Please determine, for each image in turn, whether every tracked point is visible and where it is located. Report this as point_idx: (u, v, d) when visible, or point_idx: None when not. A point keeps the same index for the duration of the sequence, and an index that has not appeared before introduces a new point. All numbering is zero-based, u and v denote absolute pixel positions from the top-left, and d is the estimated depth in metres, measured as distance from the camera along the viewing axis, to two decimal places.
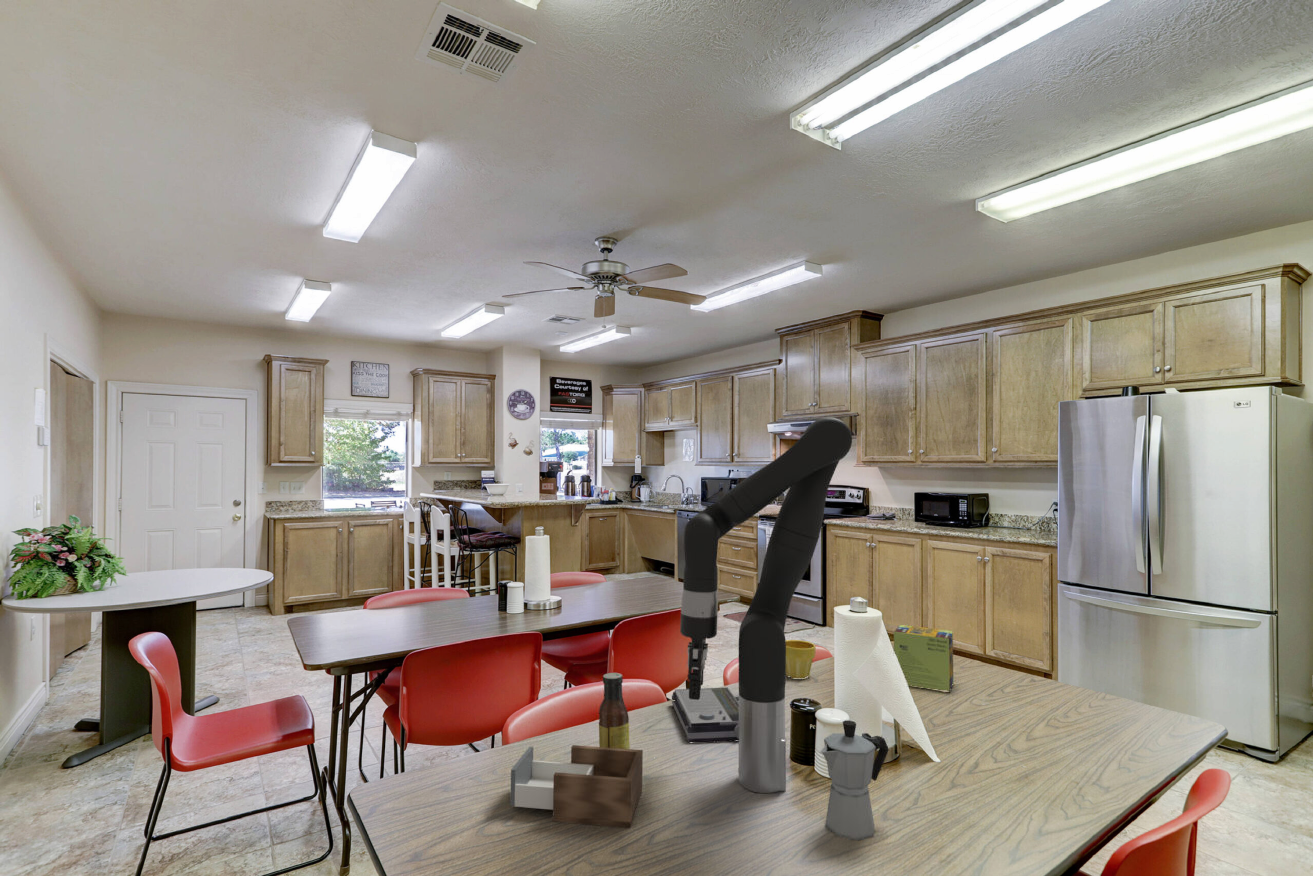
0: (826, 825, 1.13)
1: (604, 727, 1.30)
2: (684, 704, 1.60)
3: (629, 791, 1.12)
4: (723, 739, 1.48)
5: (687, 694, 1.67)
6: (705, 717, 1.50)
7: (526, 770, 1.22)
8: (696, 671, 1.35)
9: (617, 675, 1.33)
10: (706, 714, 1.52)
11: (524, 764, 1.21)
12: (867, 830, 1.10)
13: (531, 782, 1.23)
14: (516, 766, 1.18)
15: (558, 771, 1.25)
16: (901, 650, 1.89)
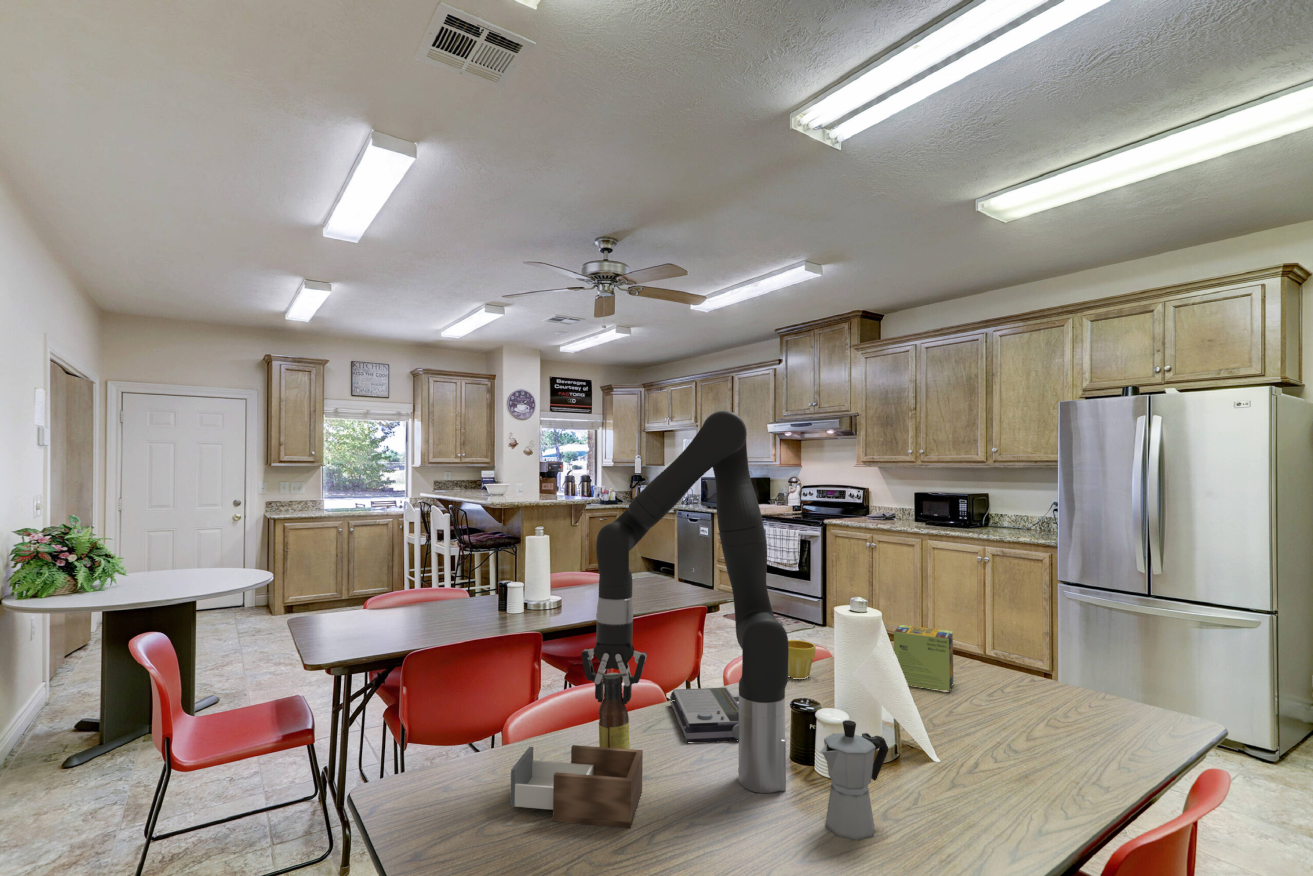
0: (826, 825, 1.13)
1: (604, 727, 1.30)
2: (682, 704, 1.60)
3: (629, 791, 1.12)
4: (721, 739, 1.48)
5: (685, 694, 1.67)
6: (703, 717, 1.50)
7: (526, 770, 1.22)
8: (602, 687, 1.33)
9: (617, 675, 1.33)
10: (704, 714, 1.51)
11: (524, 764, 1.21)
12: (867, 829, 1.10)
13: (531, 782, 1.23)
14: (516, 766, 1.18)
15: (558, 771, 1.25)
16: (901, 650, 1.89)
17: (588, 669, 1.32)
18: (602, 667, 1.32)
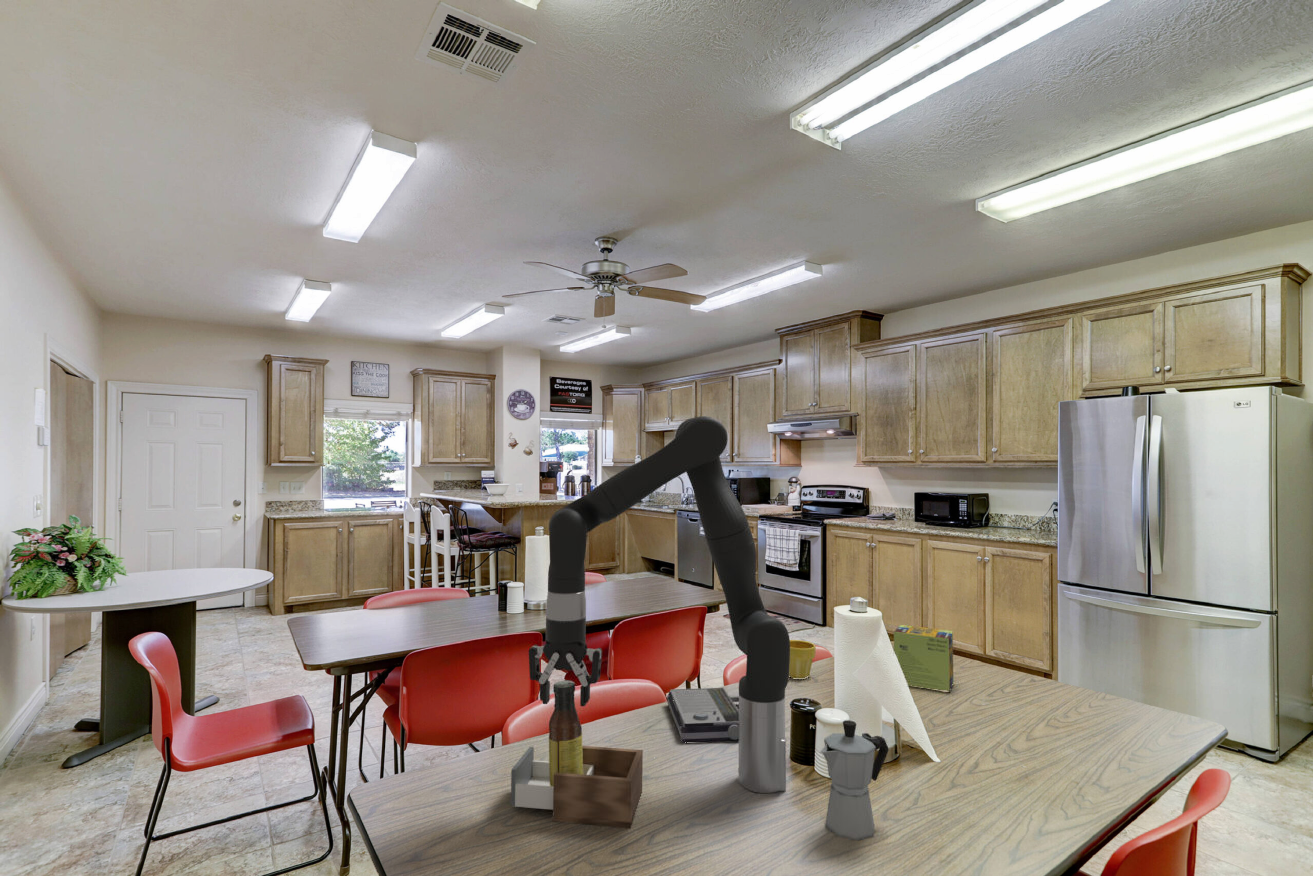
0: (826, 825, 1.13)
1: (553, 740, 1.18)
2: (679, 704, 1.60)
3: (629, 791, 1.12)
4: (717, 739, 1.48)
5: (682, 694, 1.67)
6: (699, 717, 1.50)
7: (526, 770, 1.22)
8: (547, 688, 1.21)
9: (569, 683, 1.21)
10: (700, 714, 1.51)
11: (524, 764, 1.21)
12: (867, 829, 1.10)
13: (531, 782, 1.23)
14: (516, 766, 1.18)
15: None
16: (901, 650, 1.89)
17: (533, 668, 1.21)
18: (550, 667, 1.20)
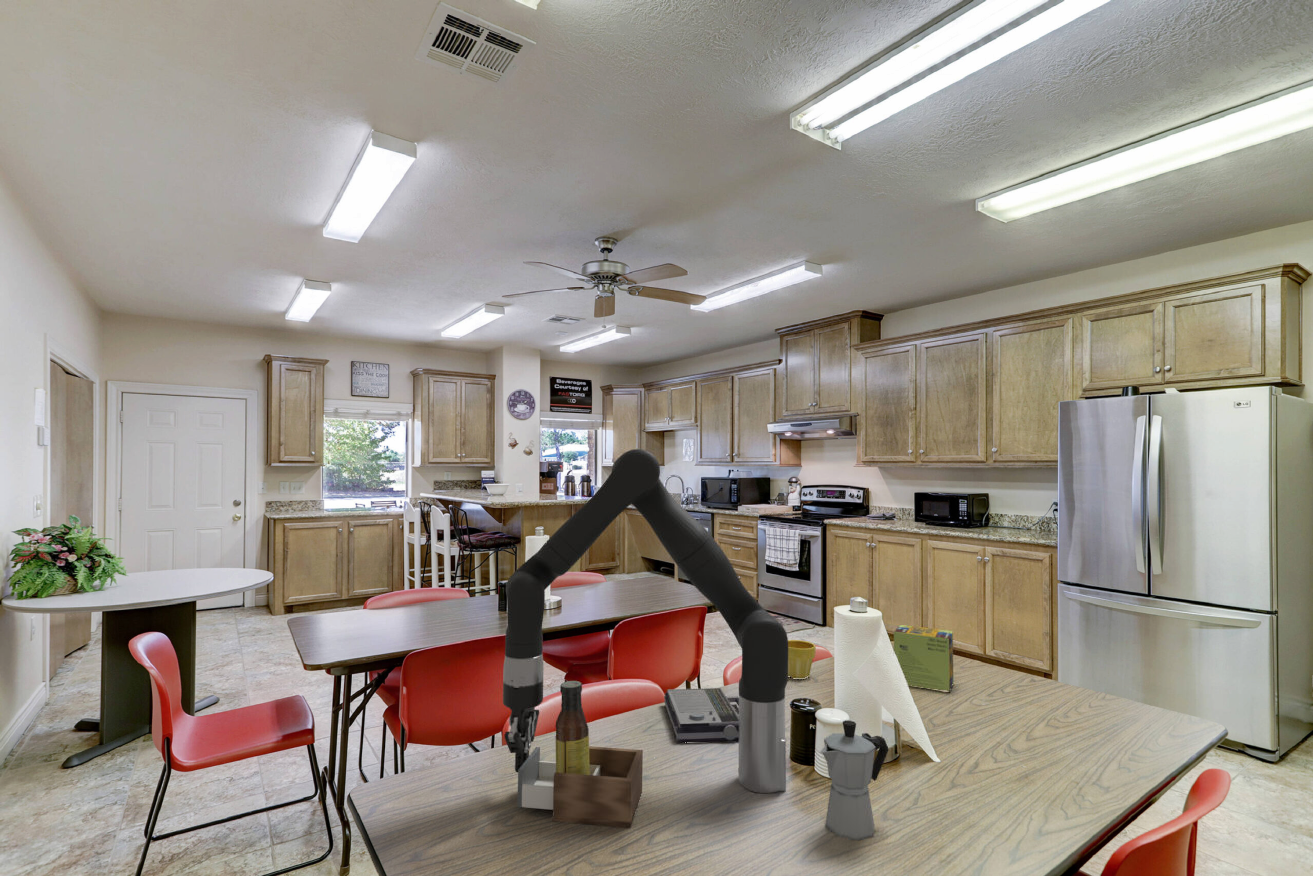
0: (826, 825, 1.13)
1: (560, 741, 1.18)
2: (675, 704, 1.60)
3: (629, 791, 1.12)
4: (712, 740, 1.48)
5: (679, 694, 1.67)
6: (695, 718, 1.50)
7: (532, 770, 1.22)
8: None
9: (576, 683, 1.21)
10: (696, 715, 1.51)
11: (531, 765, 1.21)
12: (867, 829, 1.10)
13: (538, 783, 1.23)
14: (523, 767, 1.18)
15: None
16: (901, 650, 1.89)
17: (522, 744, 1.18)
18: (529, 732, 1.21)
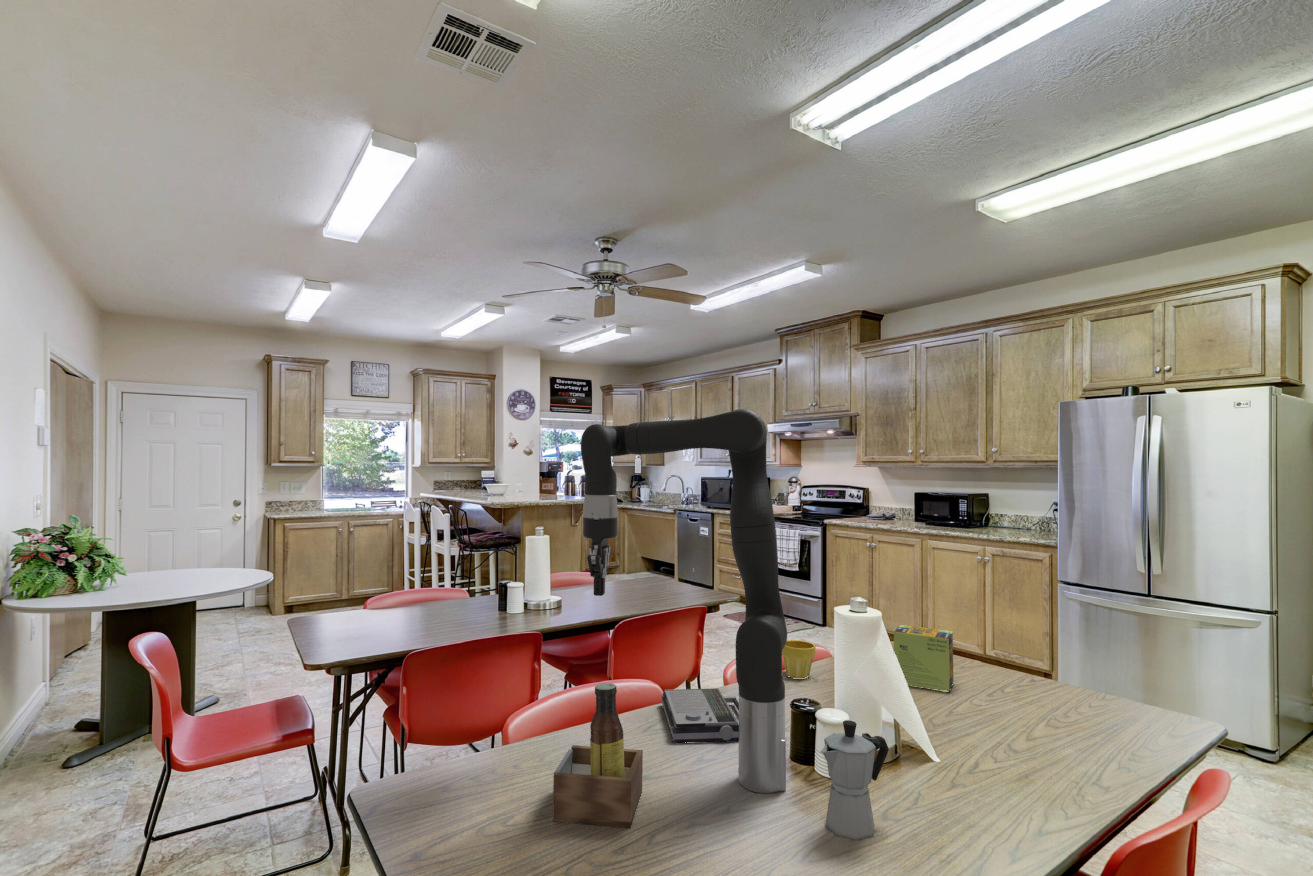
0: (826, 825, 1.13)
1: (595, 743, 1.17)
2: (672, 704, 1.60)
3: (629, 791, 1.12)
4: (708, 740, 1.47)
5: (676, 694, 1.67)
6: (691, 718, 1.50)
7: None
8: None
9: (611, 685, 1.20)
10: (692, 715, 1.51)
11: (565, 768, 1.20)
12: (867, 829, 1.10)
13: None
14: (558, 769, 1.17)
15: None
16: (901, 650, 1.89)
17: (601, 567, 1.37)
18: (606, 560, 1.39)
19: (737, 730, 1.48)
